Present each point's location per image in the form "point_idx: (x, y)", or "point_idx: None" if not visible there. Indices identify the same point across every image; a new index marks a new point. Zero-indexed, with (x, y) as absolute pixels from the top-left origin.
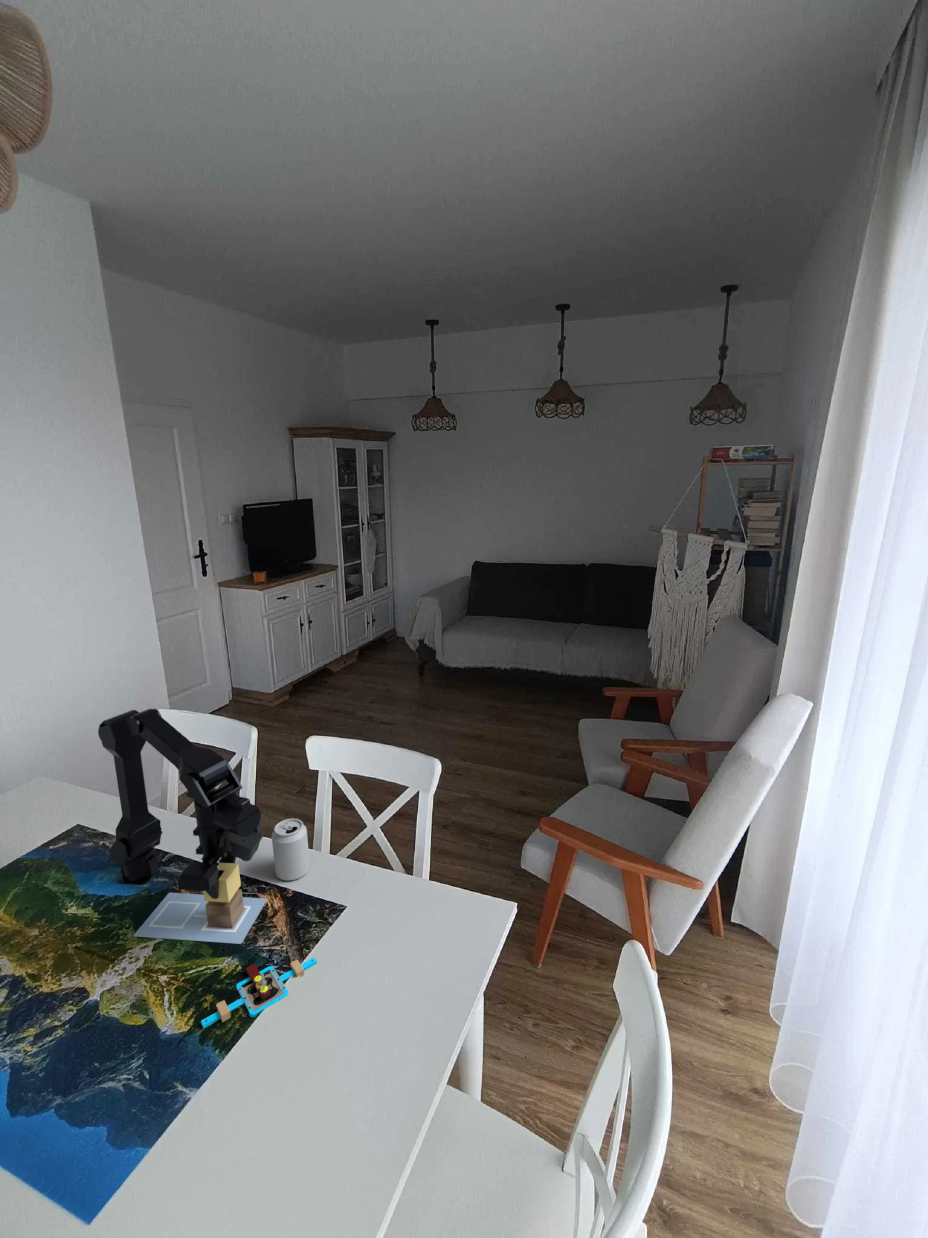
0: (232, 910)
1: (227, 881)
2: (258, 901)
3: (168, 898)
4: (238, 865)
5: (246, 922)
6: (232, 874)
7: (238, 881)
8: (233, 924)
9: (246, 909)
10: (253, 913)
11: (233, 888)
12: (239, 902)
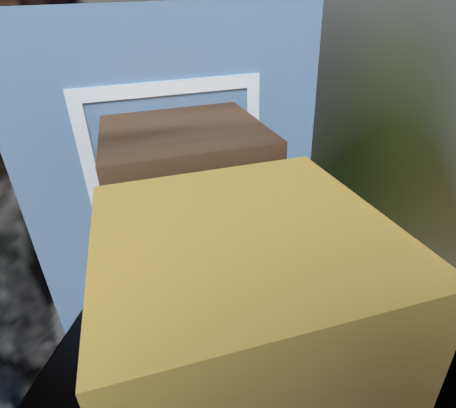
0: (241, 130)
1: (419, 271)
2: (2, 64)
3: None
4: (78, 363)
5: (183, 47)
6: (289, 303)
7: (131, 211)
8: (223, 106)
9: (94, 102)
10: (110, 41)
11: (238, 196)
12: (143, 136)
